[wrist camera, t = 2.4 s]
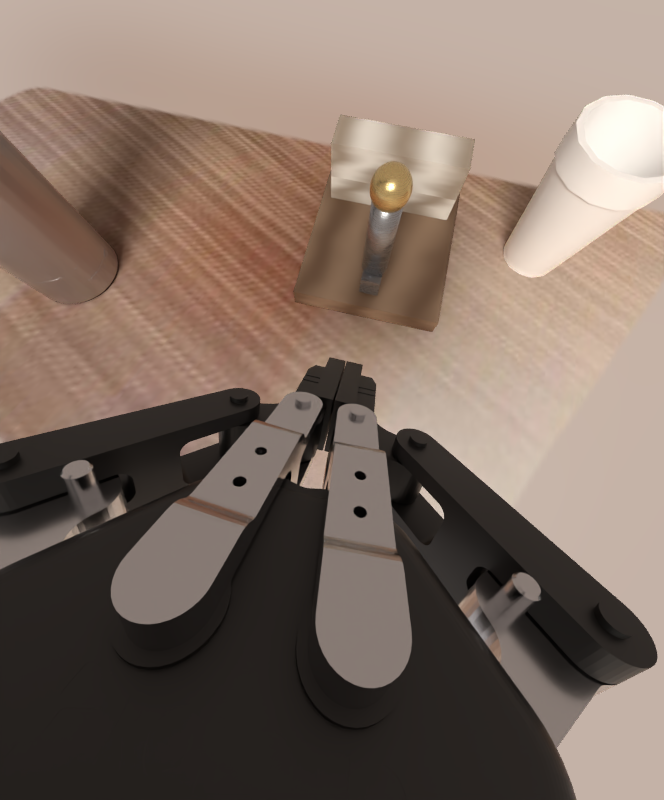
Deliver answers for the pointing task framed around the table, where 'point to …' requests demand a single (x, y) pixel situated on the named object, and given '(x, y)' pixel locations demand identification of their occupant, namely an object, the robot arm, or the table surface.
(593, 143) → the foam cup
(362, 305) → the board
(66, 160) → the table surface
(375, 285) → the gold knob lever
